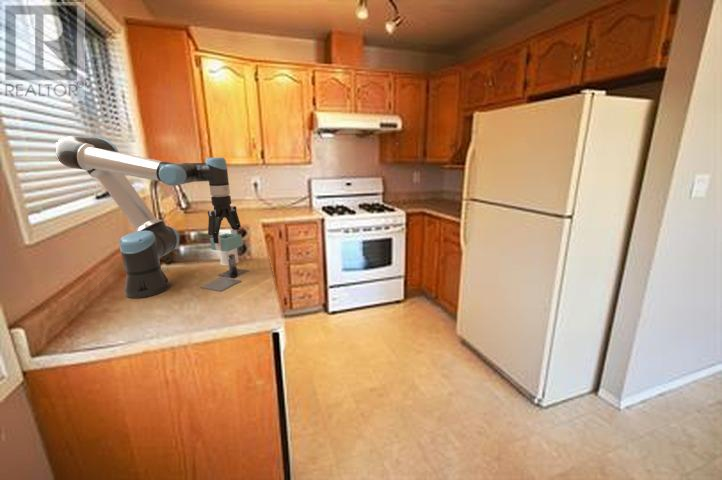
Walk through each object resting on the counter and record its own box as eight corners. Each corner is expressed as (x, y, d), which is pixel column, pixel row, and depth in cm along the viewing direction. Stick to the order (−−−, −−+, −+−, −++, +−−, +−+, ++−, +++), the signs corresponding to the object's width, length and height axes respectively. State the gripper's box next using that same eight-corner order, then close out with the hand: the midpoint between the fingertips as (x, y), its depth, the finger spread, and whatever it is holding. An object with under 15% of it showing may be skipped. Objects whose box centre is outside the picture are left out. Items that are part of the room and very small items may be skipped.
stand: (216, 276, 143) (213, 257, 141) (233, 269, 152) (231, 250, 150) (234, 279, 139) (231, 259, 137) (250, 271, 148) (247, 252, 146)
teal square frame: (211, 249, 138) (209, 238, 137) (227, 243, 146) (225, 233, 145) (228, 251, 135) (226, 240, 134) (242, 245, 143) (241, 234, 142)
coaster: (200, 288, 130) (200, 286, 130) (221, 279, 140) (221, 277, 140) (221, 292, 126) (220, 290, 126) (241, 282, 136) (241, 280, 136)
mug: (241, 265, 156) (238, 242, 153) (222, 269, 152) (218, 244, 149) (237, 259, 166) (234, 236, 163) (219, 262, 162) (216, 239, 159)
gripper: (206, 199, 124) (214, 255, 130) (245, 192, 143) (251, 241, 149) (192, 198, 126) (200, 253, 132) (232, 192, 146) (238, 240, 152)
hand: (227, 247), depth 141 cm, fingers closed on teal square frame, 9 cm apart
